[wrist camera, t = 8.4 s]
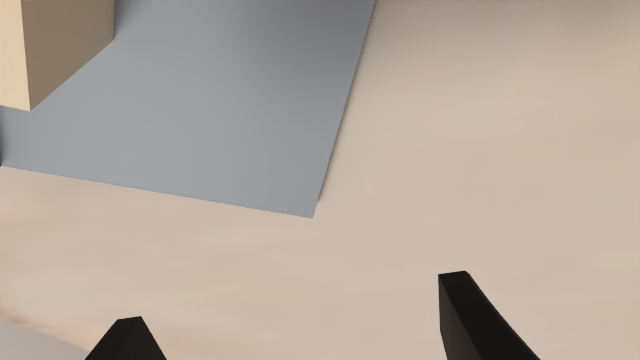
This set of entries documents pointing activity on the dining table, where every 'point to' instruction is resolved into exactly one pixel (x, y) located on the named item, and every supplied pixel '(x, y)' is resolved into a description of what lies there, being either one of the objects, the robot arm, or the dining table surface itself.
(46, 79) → the carton
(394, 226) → the dining table surface
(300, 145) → the shelf board
